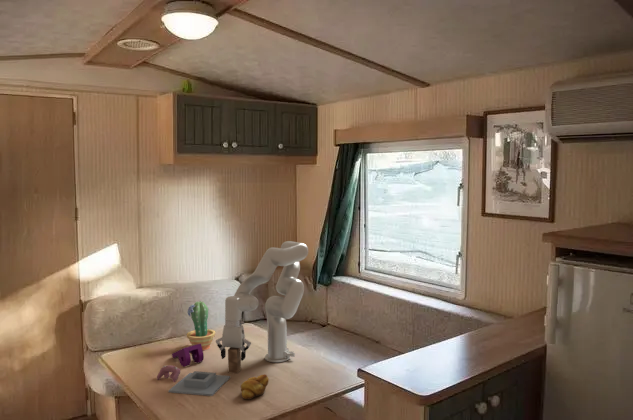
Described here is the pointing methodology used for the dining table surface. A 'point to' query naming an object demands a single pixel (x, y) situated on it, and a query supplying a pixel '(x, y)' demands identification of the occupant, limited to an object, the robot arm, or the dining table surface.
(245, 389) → the bread roll
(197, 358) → the mounting bracket
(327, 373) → the dining table surface
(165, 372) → the video game controller
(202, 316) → the potted cactus
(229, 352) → the walnut block
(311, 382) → the dining table surface
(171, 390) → the grey square socket base
